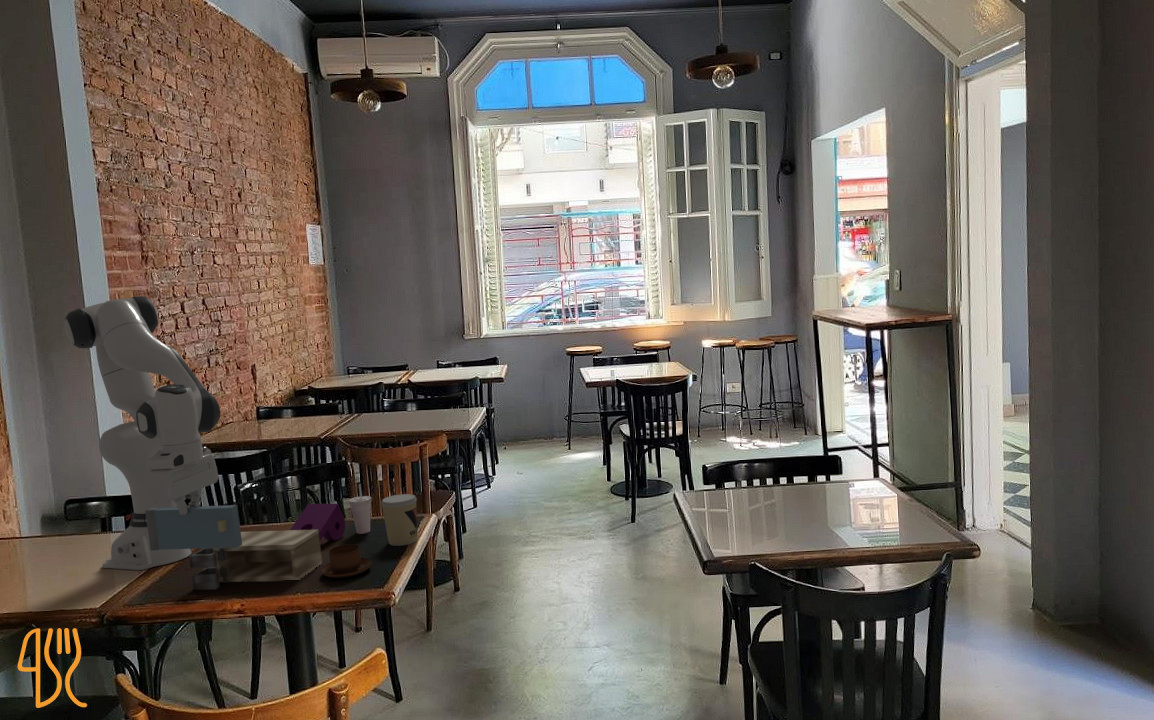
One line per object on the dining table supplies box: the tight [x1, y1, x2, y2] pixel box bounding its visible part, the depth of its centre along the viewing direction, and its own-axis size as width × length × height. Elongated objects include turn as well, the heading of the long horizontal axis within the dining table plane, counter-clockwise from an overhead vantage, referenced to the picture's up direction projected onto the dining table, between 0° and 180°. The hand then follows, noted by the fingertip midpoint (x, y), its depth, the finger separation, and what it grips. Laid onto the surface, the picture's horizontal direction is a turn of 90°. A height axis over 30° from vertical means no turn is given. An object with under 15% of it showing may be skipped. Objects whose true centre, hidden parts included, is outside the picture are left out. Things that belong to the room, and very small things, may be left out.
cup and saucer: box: [320, 543, 372, 579], centre depth 210 cm, size 12×12×6 cm
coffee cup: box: [381, 493, 418, 547], centre depth 232 cm, size 9×9×12 cm
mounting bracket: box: [289, 503, 346, 542], centre depth 236 cm, size 10×9×19 cm
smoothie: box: [348, 483, 372, 535], centre depth 244 cm, size 6×6×14 cm
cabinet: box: [188, 529, 323, 591], centre depth 212 cm, size 25×17×9 cm
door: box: [145, 504, 242, 550], centre depth 201 cm, size 23×4×10 cm, turn 79°
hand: (189, 511), depth 201 cm, fingers closed on door, 2 cm apart
